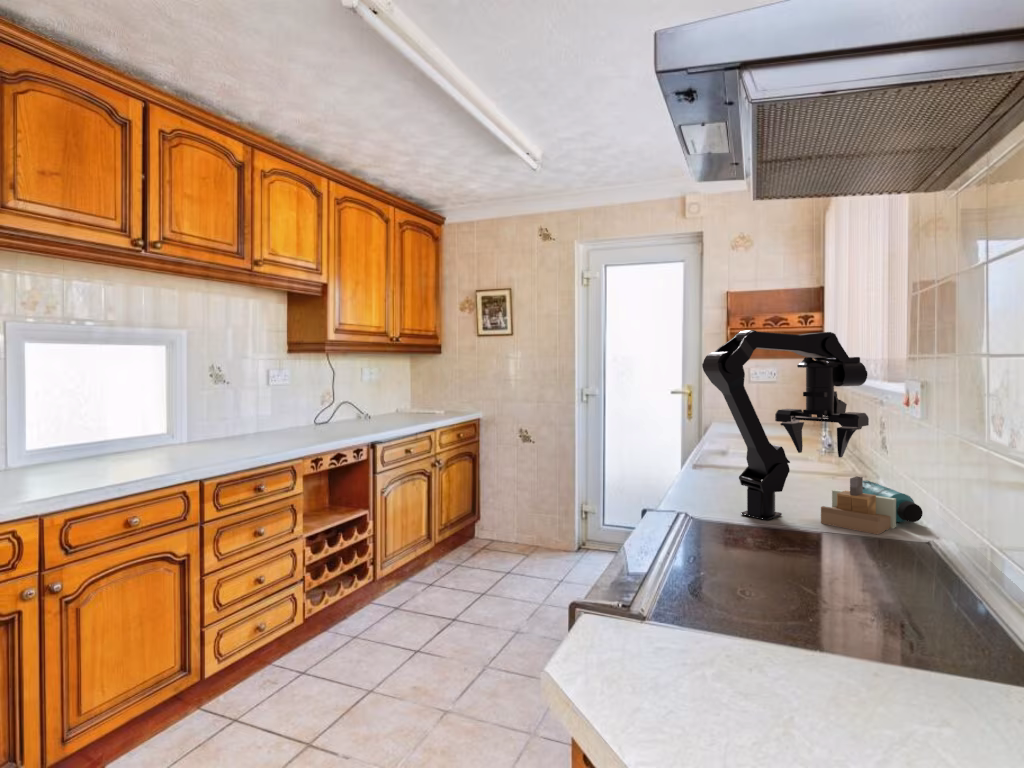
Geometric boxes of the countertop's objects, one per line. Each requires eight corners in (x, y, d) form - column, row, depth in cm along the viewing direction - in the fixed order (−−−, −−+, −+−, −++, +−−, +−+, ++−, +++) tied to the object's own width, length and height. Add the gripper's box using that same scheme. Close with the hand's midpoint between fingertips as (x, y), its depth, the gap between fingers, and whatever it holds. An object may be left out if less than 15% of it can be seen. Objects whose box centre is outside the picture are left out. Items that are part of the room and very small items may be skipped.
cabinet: (867, 517, 120) (867, 481, 120) (836, 512, 125) (836, 477, 124) (875, 514, 122) (875, 478, 122) (845, 508, 127) (845, 474, 127)
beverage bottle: (880, 490, 140) (937, 511, 120) (860, 511, 140) (915, 535, 120) (859, 472, 140) (913, 490, 120) (840, 493, 140) (891, 514, 120)
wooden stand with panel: (880, 535, 116) (880, 505, 116) (818, 522, 126) (818, 494, 126) (895, 527, 121) (896, 498, 121) (835, 516, 131) (835, 489, 131)
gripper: (879, 386, 132) (879, 455, 132) (798, 385, 147) (798, 447, 147) (856, 388, 125) (856, 461, 126) (773, 386, 140) (774, 451, 141)
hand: (819, 454), depth 135 cm, fingers open, 9 cm apart
